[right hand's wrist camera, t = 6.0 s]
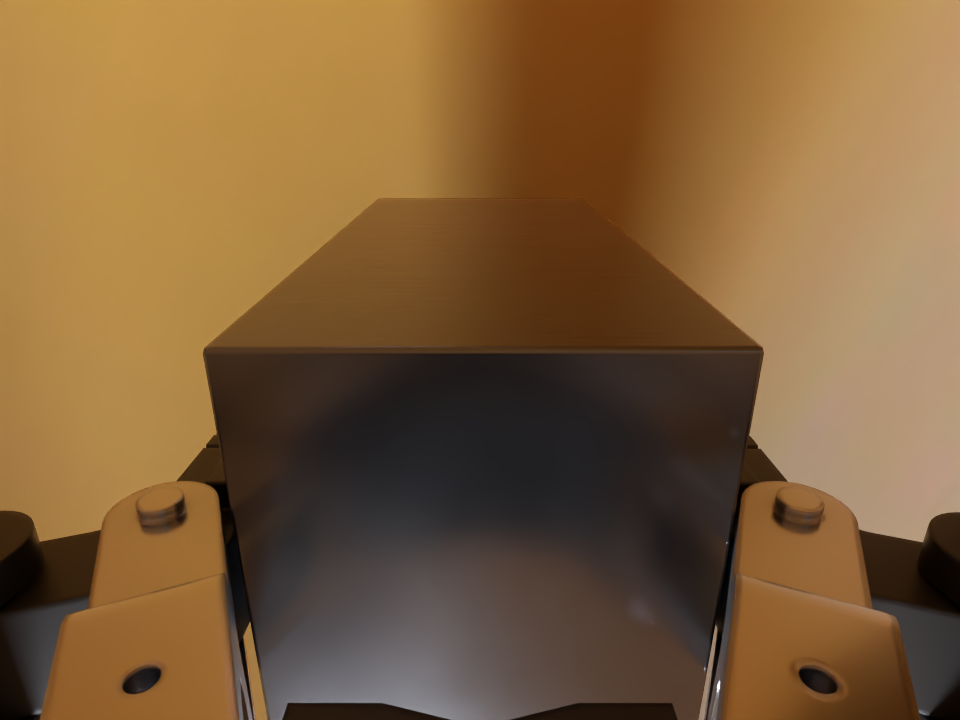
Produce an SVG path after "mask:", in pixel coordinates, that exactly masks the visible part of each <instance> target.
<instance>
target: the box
mask: <svg viewBox="0 0 960 720" xmlns="http://www.w3.org/2000/svg"><path fill="white" fill-rule="evenodd" d="M763 354H764V352H763V348H762V347H761V346H760V345H759V344H758V343H757V342H755V341H754V340H753V339H752V338H751V337H749V336H748V335H747V334H746V333H745V332H743V331H742V330H741V329H740V328H739V327H737V326H736V325H735V324H734V323H733V322H731V321H730V320H729V319H728V318H727V317H725V316H724V315H723V314H722V313H721V312H719V311H718V310H717V309H716V308H715V307H713V306H712V305H711V304H710V303H709V302H707V301H706V300H705V299H704V298H703V297H701V296H700V295H699V294H698V293H697V292H695V291H694V290H693V289H692V288H691V287H689V286H688V285H687V284H686V283H685V282H683V281H682V280H681V279H680V278H679V277H677V276H676V275H675V274H674V273H673V272H671V271H670V270H669V269H668V268H667V267H665V266H664V265H663V264H662V263H661V262H659V261H658V260H657V259H656V258H655V257H653V256H652V255H651V254H650V253H649V252H647V251H646V250H645V249H644V248H643V247H641V246H640V245H639V244H638V243H637V242H635V241H634V240H633V239H632V238H631V237H629V236H628V235H627V234H626V233H625V232H623V231H622V230H621V229H620V228H619V227H617V226H616V225H615V224H614V223H613V222H611V221H610V220H609V219H608V218H607V217H605V216H604V215H603V214H602V213H601V212H599V211H598V210H597V209H596V208H595V207H593V206H592V205H591V204H590V203H589V202H587V201H586V200H585V199H583V198H401V199H377V200H376V201H375V202H374V203H373V204H371V205H370V206H369V207H368V208H367V209H366V210H364V211H363V212H362V213H361V214H360V215H359V216H357V217H356V218H355V219H354V220H353V221H352V222H350V223H349V224H348V225H347V226H346V227H345V228H344V229H342V230H341V231H340V232H339V233H338V234H337V235H335V236H334V237H333V238H332V239H331V240H330V241H328V242H327V243H326V244H325V245H324V246H323V247H321V248H320V249H319V250H318V251H317V252H316V253H314V254H313V255H312V256H311V257H310V258H309V259H307V260H306V261H305V262H304V263H303V264H302V265H300V266H299V267H298V268H297V269H296V270H295V271H293V272H292V273H291V274H290V275H289V276H288V277H286V278H285V279H284V280H283V281H282V282H281V283H279V284H278V285H277V286H276V287H275V288H274V289H272V290H271V291H270V292H269V293H268V294H267V295H265V296H264V297H263V298H262V299H261V300H260V301H259V302H257V303H256V304H255V305H254V306H253V307H252V308H250V309H249V310H248V311H247V312H246V313H245V314H243V315H242V316H241V317H240V318H239V319H238V320H236V321H235V322H234V323H233V324H232V325H231V326H229V327H228V328H227V329H226V330H225V331H224V332H222V333H221V334H220V335H219V336H218V337H217V338H215V339H214V340H213V341H212V342H211V343H210V344H208V345H207V346H206V347H205V348H204V351H203V356H204V362H205V368H206V373H207V379H208V385H209V390H210V396H211V402H212V407H213V413H214V419H215V424H216V430H217V435H218V441H219V447H220V452H221V458H222V464H223V469H224V475H225V481H226V486H227V492H228V498H229V503H230V509H231V515H232V520H233V526H234V532H235V537H236V543H237V549H238V554H239V560H240V566H241V571H242V577H243V583H244V588H245V594H246V599H247V605H248V611H249V616H250V622H251V628H252V633H253V639H254V645H255V650H256V656H257V662H258V667H259V673H260V679H261V684H262V690H263V696H264V701H265V707H266V713H267V718H268V720H282V719H283V716H284V713H285V710H286V707H287V704H288V703H384V704H389V705H393V706H397V707H401V708H405V709H409V710H413V711H417V712H421V713H425V714H429V715H433V716H437V717H442V718H446V719H450V720H510V719H514V718H518V717H523V716H527V715H531V714H535V713H539V712H543V711H547V710H551V709H555V708H559V707H563V706H567V705H571V704H576V703H672V704H673V707H674V710H675V713H676V716H677V719H678V720H698V718H699V713H700V707H701V702H702V696H703V690H704V685H705V679H706V674H707V668H708V662H709V657H710V651H711V646H712V640H713V634H714V629H715V623H716V618H717V612H718V606H719V601H720V595H721V590H722V584H723V578H724V573H725V567H726V562H727V556H728V550H729V545H730V539H731V534H732V528H733V522H734V517H735V511H736V506H737V500H738V494H739V489H740V483H741V478H742V472H743V466H744V461H745V455H746V450H747V444H748V438H749V433H750V427H751V422H752V416H753V410H754V405H755V399H756V394H757V388H758V382H759V377H760V371H761V366H762V360H763Z"/></svg>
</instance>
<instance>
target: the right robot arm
mask: <svg viewBox="0 0 960 720" xmlns="http://www.w3.org/2000/svg"><path fill="white" fill-rule="evenodd" d="M249 622H250V616H249V611H248V605H247V599H246V594H245V588H244V583H243V577H242V571H241V566H240V560H239V554H238V549H237V543H236V537H235V532H234V526H233V520H232V515H231V509H230V503H229V498H228V492H227V486H226V481H225V475H224V469H223V464H222V458H221V452H220V447H219V441H218V435H214V436H213V437H212V439H211V440H210V441H209V442H208V443H207V445H206V448H203V450H202V451H201V452H200V453H199V454H198V456H197V457H196V458H195V459H194V461H193V462H192V463H191V464H190V465H189V467H188V468H187V469H186V470H185V472H184V473H183V474H182V475H181V476H180V478H179V479H178V480H177V481H176V482H168V483H163V484H159V485H155V486H151V487H148V488H145V489H143V490H140V491H138V492H135V493H133V494H131V495H129V496H127V497H126V498H124V499H123V500H121V501H119V502H118V503H117V504H116V505H114V506H113V507H112V508H111V509H110V510H109V511H108V513H107V514H106V516H105V517H104V520H103V523H102V528H101V530H99V531H94V532H90V533H84V534H79V535H74V536H69V537H63V538H58V539H53V540H47V541H42V542H39V538H38V535H37V532H36V529H35V526H34V523H33V521H32V519H31V518H30V517H29V516H28V515H26V514H24V513H21V512H16V511H0V720H256V718H255V711H254V703H253V696H252V688H251V681H250V673H249V666H248V658H247V651H246V645H245V640H244V633H245V631H246V629H247V627H248V624H249ZM715 624H716V626H717V628H718V629H717V634H716V640H715V645H714V651H713V658H712V666H711V673H710V681H709V688H708V696H707V703H706V711H705V718H704V720H960V512H955V513H945V514H941V515H938V516H936V517H934V518H933V519H932V520H931V521H930V523H929V526H928V529H927V532H926V535H925V538H924V542H923V543H922V542H917V541H912V540H906V539H901V538H896V537H891V536H885V535H880V534H875V533H870V532H866V531H862V530H859V528H858V523H857V520H856V517H855V516H854V514H853V513H852V511H851V510H850V509H849V508H848V507H847V506H846V505H844V504H843V503H842V502H840V501H839V500H837V499H836V498H834V497H833V496H831V495H829V494H827V493H825V492H822V491H820V490H817V489H815V488H812V487H809V486H805V485H801V484H797V483H792V482H788V481H787V480H786V479H785V478H784V477H783V475H782V474H781V473H780V472H779V471H778V469H777V468H776V467H775V466H774V465H773V463H772V462H771V461H770V460H769V459H768V457H767V456H766V455H765V454H764V452H763V451H762V450H761V449H758V445H757V444H756V443H755V442H754V440H753V439H752V438H751V437H750V436H749V438H748V444H747V450H746V455H745V461H744V466H743V472H742V478H741V483H740V489H739V494H738V500H737V506H736V511H735V517H734V522H733V528H732V534H731V539H730V545H729V550H728V556H727V562H726V567H725V573H724V578H723V584H722V590H721V595H720V601H719V606H718V612H717V618H716V623H715ZM282 720H450V719H446V718H442V717H437V716H433V715H429V714H425V713H421V712H417V711H413V710H409V709H405V708H401V707H397V706H393V705H389V704H384V703H288V704H287V707H286V710H285V713H284V716H283V719H282ZM510 720H678V719H677V716H676V713H675V710H674V707H673V704H672V703H576V704H571V705H567V706H563V707H559V708H555V709H551V710H547V711H543V712H539V713H535V714H531V715H527V716H523V717H518V718H514V719H510Z"/></svg>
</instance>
